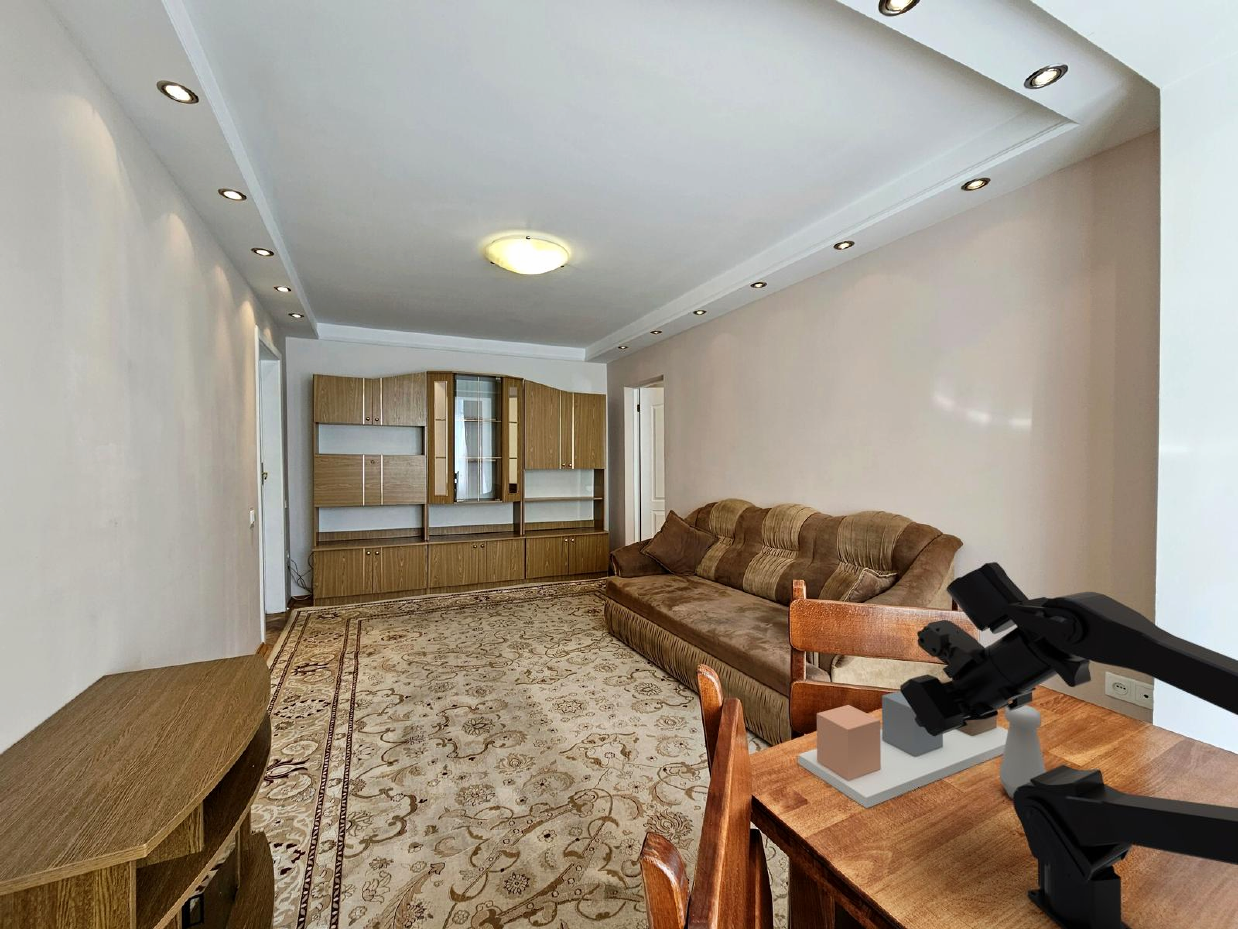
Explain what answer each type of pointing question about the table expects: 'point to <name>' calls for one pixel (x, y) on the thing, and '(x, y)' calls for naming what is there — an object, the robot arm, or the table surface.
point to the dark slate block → (905, 727)
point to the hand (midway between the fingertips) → (924, 721)
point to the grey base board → (911, 765)
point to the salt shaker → (1021, 749)
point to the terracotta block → (848, 741)
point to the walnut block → (976, 722)
